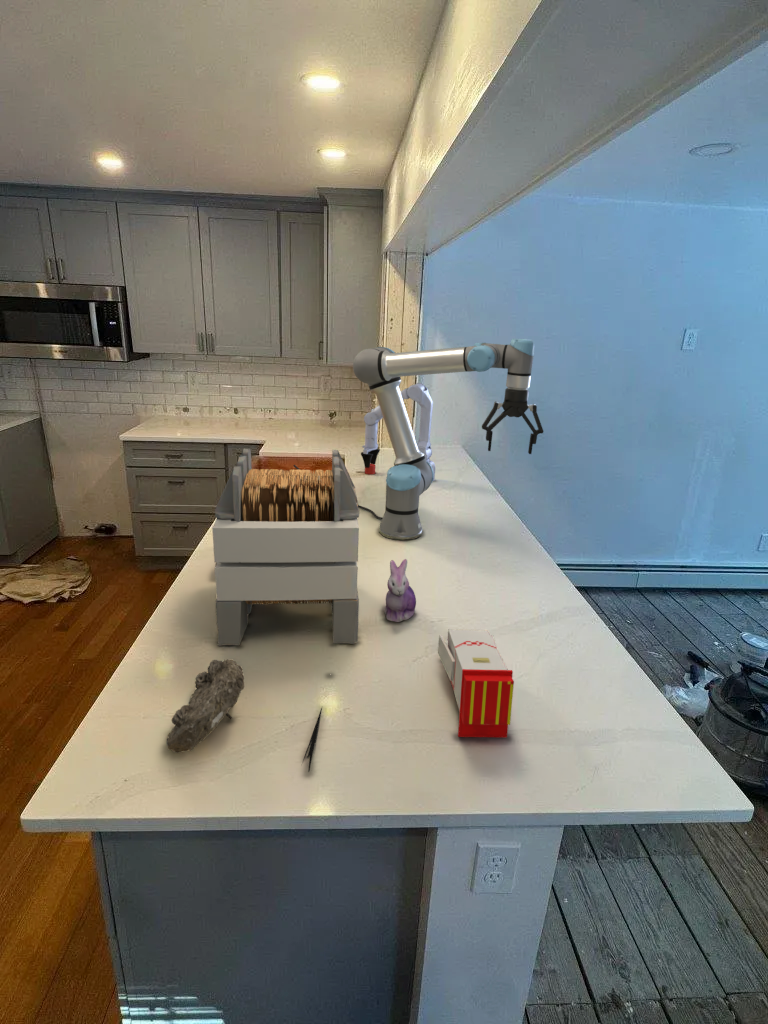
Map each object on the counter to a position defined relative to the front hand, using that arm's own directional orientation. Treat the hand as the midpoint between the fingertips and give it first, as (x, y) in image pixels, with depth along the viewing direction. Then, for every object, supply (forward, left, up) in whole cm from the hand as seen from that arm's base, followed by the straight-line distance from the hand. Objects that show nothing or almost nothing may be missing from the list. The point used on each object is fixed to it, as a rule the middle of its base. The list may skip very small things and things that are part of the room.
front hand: (509, 451), depth 193 cm
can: (-87, +12, -31) cm, 93 cm away
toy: (+53, -76, -31) cm, 97 cm away
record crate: (+2, -88, -31) cm, 93 cm away
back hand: (-87, +11, -27) cm, 92 cm away
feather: (+40, -105, -31) cm, 117 cm away
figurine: (+20, -66, -31) cm, 76 cm away
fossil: (+27, -121, -31) cm, 128 cm away
